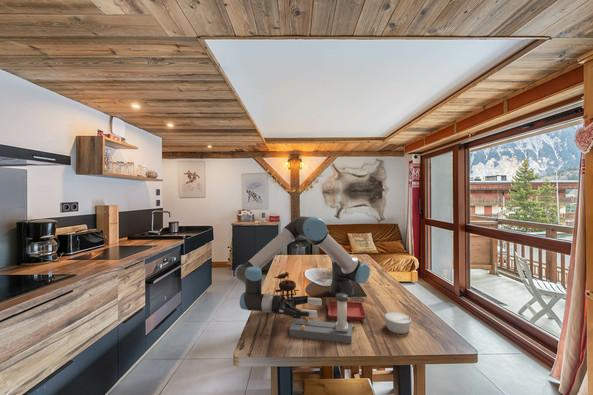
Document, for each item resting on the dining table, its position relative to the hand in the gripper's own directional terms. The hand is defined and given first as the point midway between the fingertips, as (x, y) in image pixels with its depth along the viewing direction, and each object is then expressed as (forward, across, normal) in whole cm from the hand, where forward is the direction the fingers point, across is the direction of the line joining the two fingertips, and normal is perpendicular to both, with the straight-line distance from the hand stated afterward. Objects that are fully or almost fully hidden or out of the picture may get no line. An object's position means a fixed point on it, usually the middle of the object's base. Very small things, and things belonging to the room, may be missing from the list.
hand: (319, 307), depth 112 cm
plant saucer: (+11, -23, -12) cm, 28 cm away
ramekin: (+34, -12, -11) cm, 38 cm away
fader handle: (+10, 0, -8) cm, 12 cm away
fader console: (+1, 0, -11) cm, 11 cm away
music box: (-21, -23, -11) cm, 33 cm away
